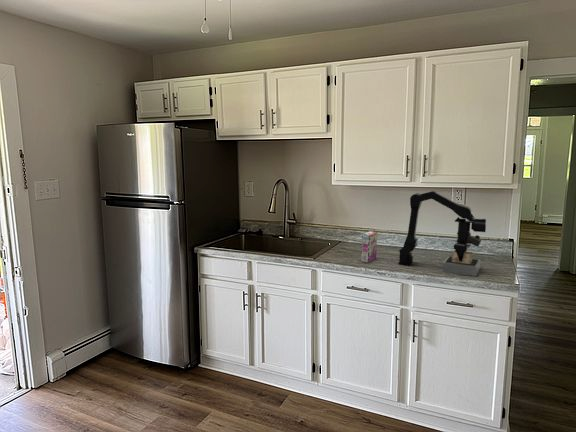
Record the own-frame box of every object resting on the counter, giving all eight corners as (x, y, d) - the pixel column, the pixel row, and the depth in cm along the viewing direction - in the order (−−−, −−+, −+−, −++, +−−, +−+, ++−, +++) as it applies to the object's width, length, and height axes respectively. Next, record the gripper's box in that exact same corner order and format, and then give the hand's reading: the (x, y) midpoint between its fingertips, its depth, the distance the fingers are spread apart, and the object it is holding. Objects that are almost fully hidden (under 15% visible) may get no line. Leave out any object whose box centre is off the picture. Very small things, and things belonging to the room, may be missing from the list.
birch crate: (451, 261, 214) (452, 252, 214) (453, 259, 220) (454, 250, 219) (470, 264, 210) (470, 254, 209) (471, 261, 215) (472, 252, 215)
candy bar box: (368, 263, 230) (369, 235, 227) (360, 262, 233) (361, 234, 230) (376, 259, 239) (377, 231, 236) (368, 257, 242) (369, 230, 239)
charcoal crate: (442, 271, 213) (443, 262, 212) (448, 264, 226) (448, 255, 226) (476, 276, 205) (476, 266, 204) (479, 268, 218) (480, 259, 218)
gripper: (478, 235, 200) (476, 266, 203) (482, 229, 216) (480, 257, 219) (454, 233, 206) (452, 263, 208) (460, 227, 222) (458, 255, 224)
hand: (461, 259), depth 215 cm, fingers closed on birch crate, 6 cm apart
